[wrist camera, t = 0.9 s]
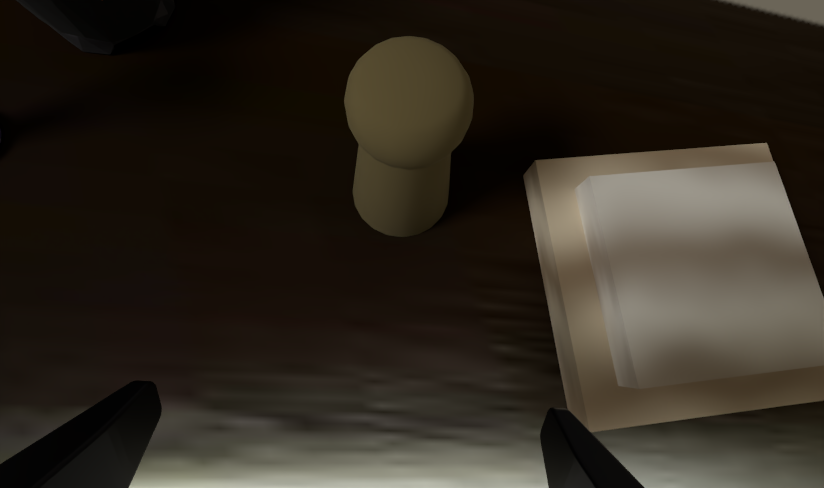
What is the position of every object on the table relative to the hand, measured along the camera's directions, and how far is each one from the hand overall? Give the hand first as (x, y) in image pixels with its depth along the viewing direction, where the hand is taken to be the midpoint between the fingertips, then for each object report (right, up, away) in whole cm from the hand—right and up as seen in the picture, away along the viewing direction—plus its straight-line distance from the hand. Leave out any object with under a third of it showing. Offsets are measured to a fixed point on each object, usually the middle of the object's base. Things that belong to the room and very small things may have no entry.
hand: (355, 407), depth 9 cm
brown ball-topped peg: (+1, +7, +16) cm, 18 cm away
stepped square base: (+17, +2, +16) cm, 23 cm away
